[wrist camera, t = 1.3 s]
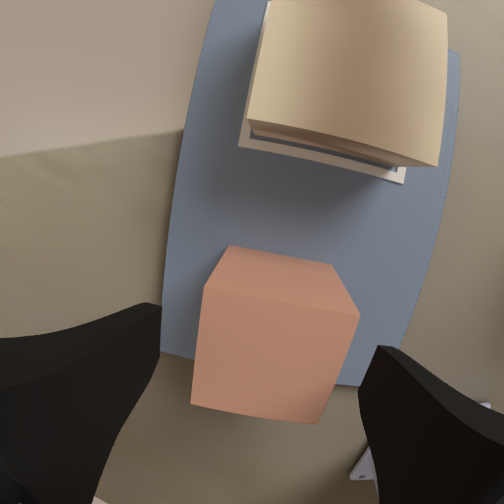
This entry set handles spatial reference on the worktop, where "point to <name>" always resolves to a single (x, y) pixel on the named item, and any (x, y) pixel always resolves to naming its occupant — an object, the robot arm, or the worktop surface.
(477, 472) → the robot arm
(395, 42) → the block
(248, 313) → the terracotta block
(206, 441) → the worktop surface
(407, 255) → the board
